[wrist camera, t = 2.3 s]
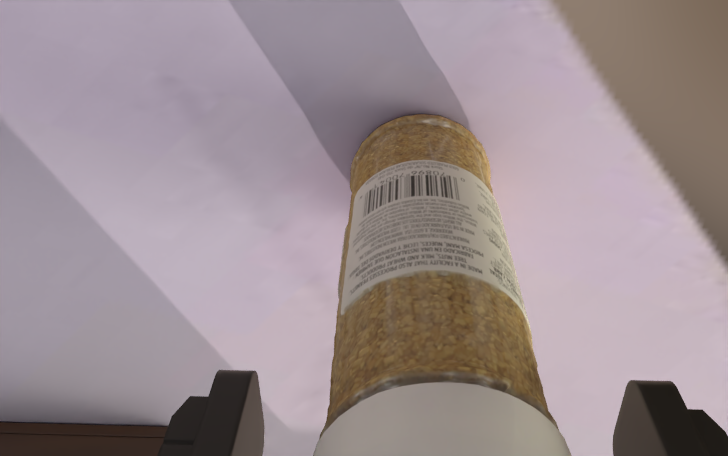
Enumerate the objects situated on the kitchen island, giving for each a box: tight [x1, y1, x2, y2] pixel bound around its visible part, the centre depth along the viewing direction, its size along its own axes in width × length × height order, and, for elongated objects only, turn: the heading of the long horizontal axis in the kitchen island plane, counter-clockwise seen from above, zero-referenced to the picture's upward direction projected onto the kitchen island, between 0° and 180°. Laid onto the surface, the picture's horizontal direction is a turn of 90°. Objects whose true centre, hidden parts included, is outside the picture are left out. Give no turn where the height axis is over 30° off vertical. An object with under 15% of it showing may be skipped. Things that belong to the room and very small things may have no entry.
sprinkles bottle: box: [313, 114, 571, 456], centre depth 16 cm, size 5×5×13 cm
